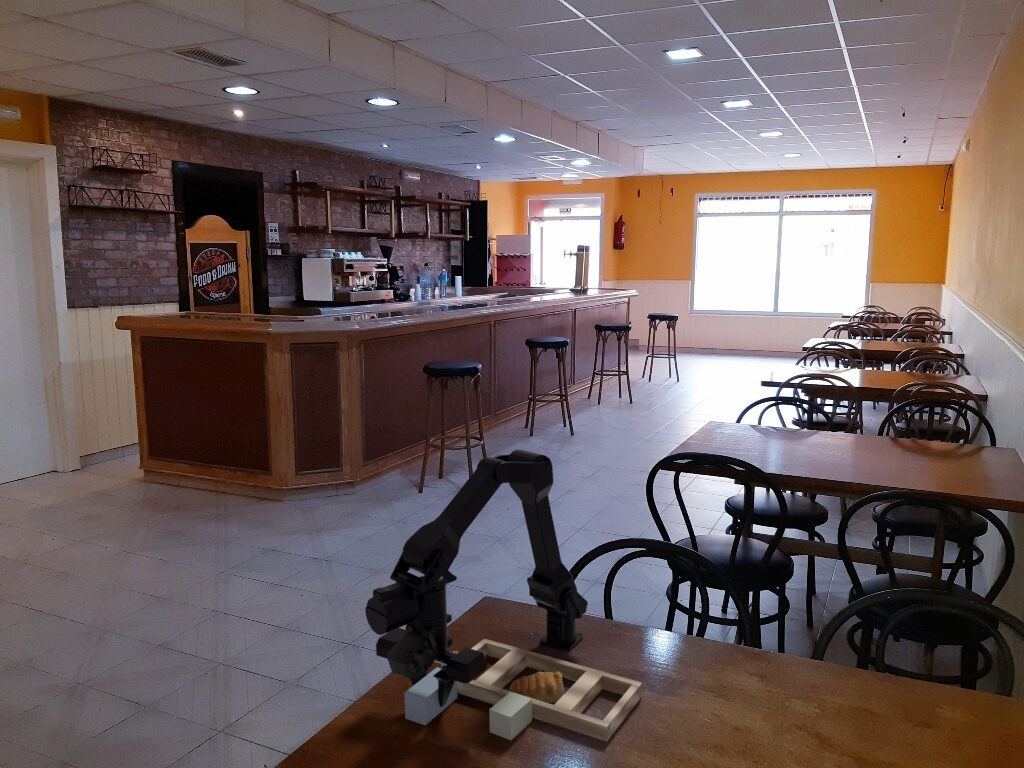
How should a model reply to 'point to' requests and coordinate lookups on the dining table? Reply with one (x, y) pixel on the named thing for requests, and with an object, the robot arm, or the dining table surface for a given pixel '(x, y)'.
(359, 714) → the dining table surface
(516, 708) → the block
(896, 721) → the dining table surface
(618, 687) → the frame
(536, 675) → the pastry
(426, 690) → the wing block
